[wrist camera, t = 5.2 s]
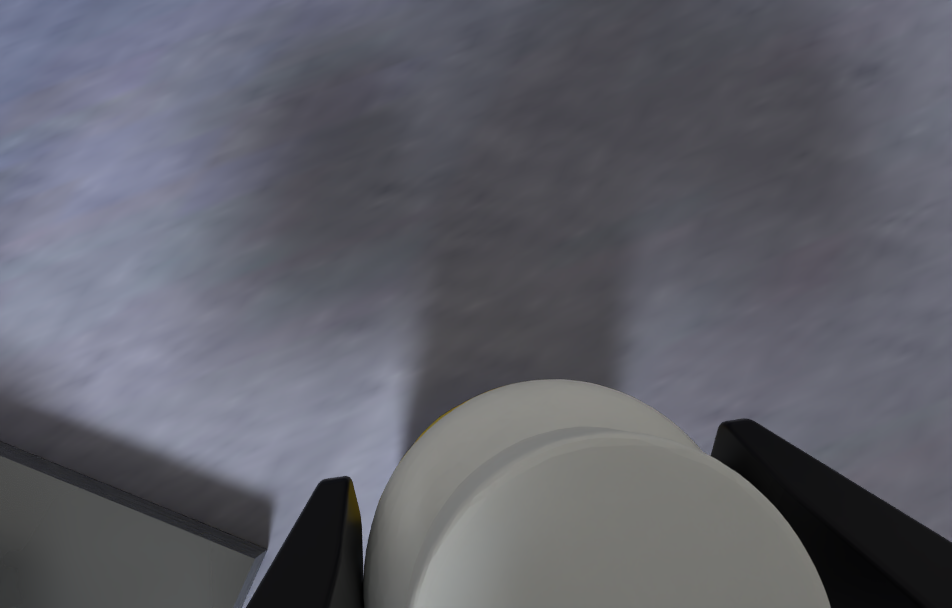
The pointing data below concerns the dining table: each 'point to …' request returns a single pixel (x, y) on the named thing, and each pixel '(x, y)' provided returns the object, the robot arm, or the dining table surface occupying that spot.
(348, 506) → the robot arm
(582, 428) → the supplement bottle
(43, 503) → the duct collar
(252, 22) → the dining table surface
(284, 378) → the dining table surface
